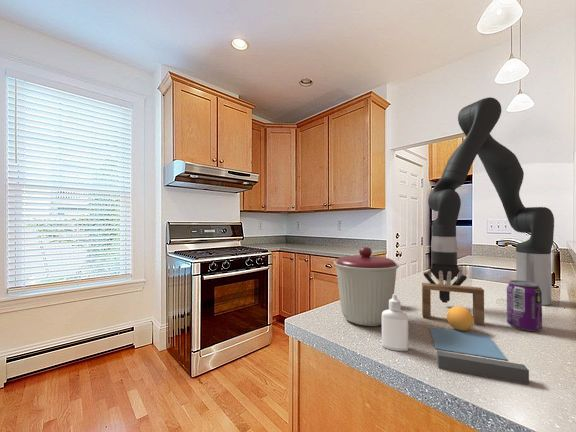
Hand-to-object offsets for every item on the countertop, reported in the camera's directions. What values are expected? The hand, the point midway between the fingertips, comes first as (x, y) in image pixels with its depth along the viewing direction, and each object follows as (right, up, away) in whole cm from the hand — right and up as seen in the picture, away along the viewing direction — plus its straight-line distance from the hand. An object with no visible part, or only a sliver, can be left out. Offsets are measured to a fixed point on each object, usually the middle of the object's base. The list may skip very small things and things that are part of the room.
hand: (444, 301), depth 90 cm
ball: (-7, +2, -19) cm, 20 cm away
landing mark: (-11, -1, -26) cm, 28 cm away
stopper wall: (-16, -1, -39) cm, 42 cm away
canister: (-30, -2, -12) cm, 32 cm away
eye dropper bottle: (-28, -1, -29) cm, 40 cm away
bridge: (-5, -1, -12) cm, 13 cm away
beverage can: (+11, -2, -18) cm, 21 cm away
